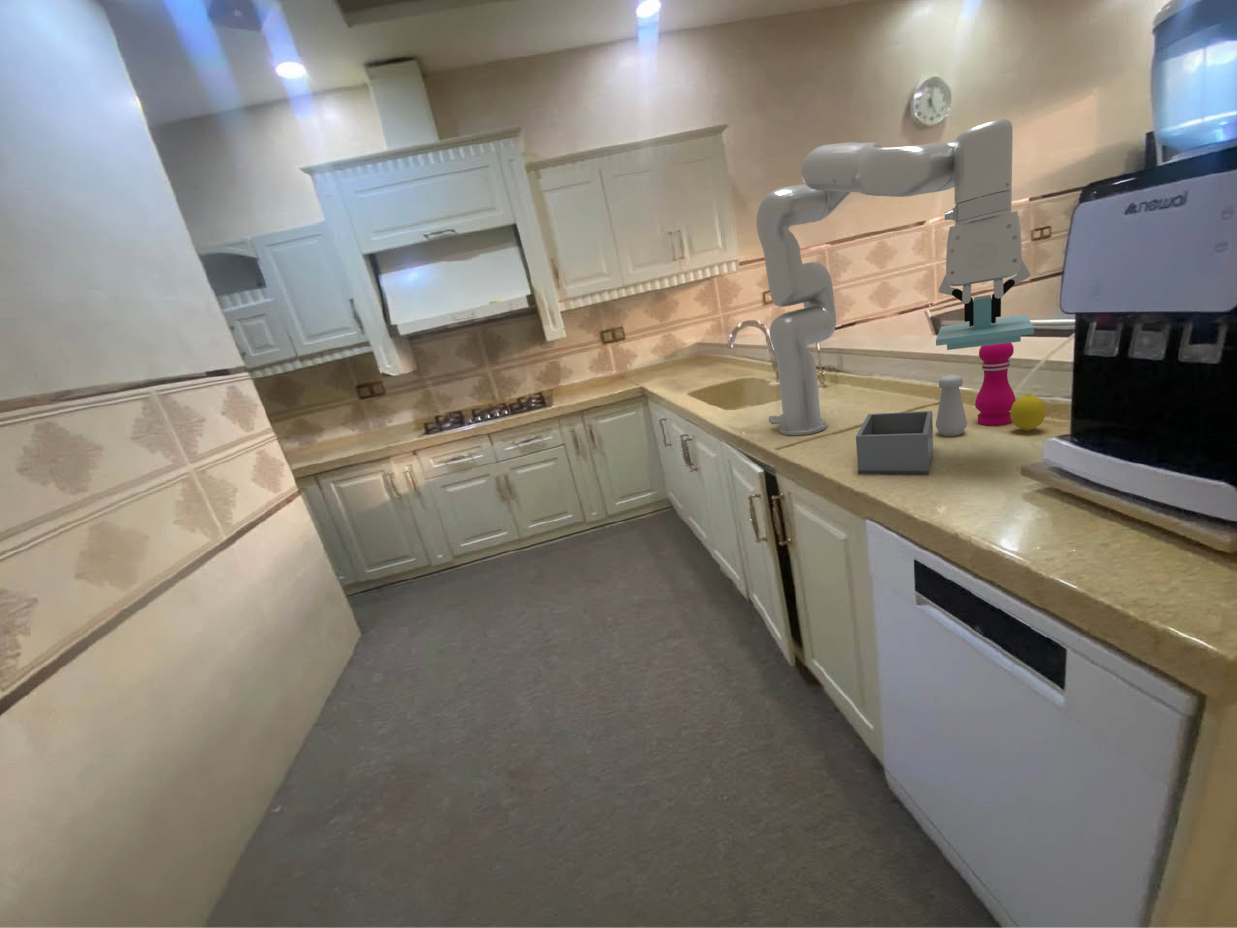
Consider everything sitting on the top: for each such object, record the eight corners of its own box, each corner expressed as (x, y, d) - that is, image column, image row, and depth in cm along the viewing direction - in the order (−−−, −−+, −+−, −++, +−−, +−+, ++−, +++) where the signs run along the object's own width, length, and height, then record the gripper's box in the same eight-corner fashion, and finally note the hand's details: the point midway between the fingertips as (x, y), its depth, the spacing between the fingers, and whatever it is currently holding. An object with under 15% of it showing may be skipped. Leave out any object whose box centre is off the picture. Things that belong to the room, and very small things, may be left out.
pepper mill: (1001, 415, 113) (1003, 327, 108) (1023, 422, 107) (1026, 329, 101) (968, 420, 115) (968, 334, 109) (987, 428, 108) (988, 336, 102)
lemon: (1039, 426, 103) (1041, 389, 100) (1048, 434, 98) (1050, 395, 96) (1006, 428, 105) (1007, 392, 103) (1013, 436, 100) (1014, 398, 98)
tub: (858, 474, 99) (855, 436, 96) (870, 448, 111) (868, 414, 109) (928, 474, 92) (927, 434, 90) (933, 447, 104) (932, 410, 102)
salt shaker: (962, 428, 111) (962, 371, 107) (970, 435, 106) (971, 376, 102) (932, 431, 113) (931, 375, 109) (939, 438, 108) (938, 380, 104)
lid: (936, 352, 84) (935, 309, 82) (941, 337, 97) (940, 300, 95) (1033, 341, 76) (1035, 294, 74) (1025, 326, 89) (1026, 285, 87)
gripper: (923, 224, 83) (926, 334, 88) (1049, 192, 73) (1045, 318, 78) (926, 225, 88) (929, 328, 93) (1044, 196, 79) (1040, 313, 84)
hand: (982, 322), depth 86 cm, fingers closed on lid, 2 cm apart
